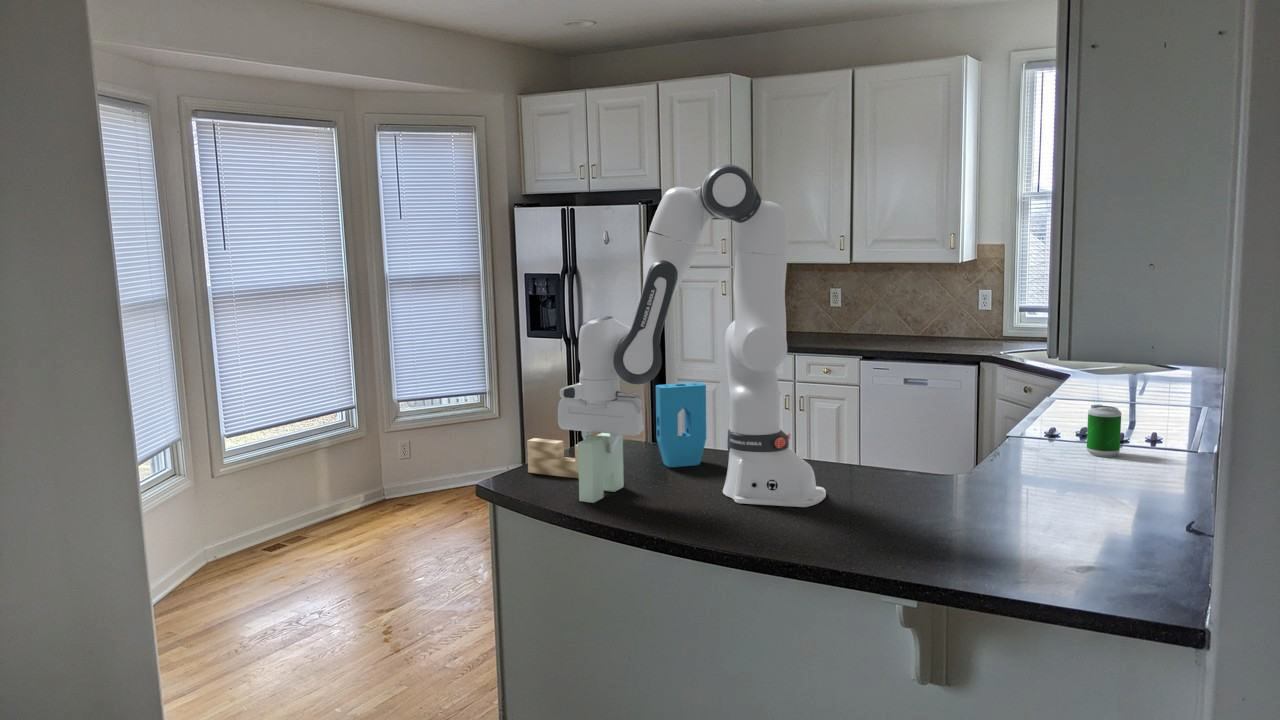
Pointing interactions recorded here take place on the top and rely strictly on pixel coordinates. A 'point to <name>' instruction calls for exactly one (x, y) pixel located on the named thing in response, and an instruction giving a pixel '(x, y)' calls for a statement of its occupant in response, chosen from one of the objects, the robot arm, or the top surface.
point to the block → (667, 408)
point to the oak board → (551, 458)
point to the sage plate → (599, 467)
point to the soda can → (1103, 431)
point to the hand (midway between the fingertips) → (601, 451)
